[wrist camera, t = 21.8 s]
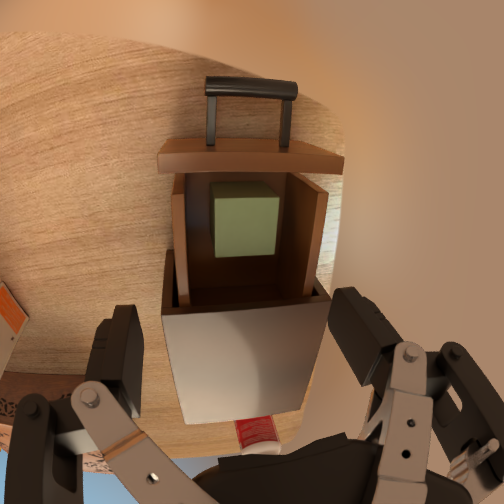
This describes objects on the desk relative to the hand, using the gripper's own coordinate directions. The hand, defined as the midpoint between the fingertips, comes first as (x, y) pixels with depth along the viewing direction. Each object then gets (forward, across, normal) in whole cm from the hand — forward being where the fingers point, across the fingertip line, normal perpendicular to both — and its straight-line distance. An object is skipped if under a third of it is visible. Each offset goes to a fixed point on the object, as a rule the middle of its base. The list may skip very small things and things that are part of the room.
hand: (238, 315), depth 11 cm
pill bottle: (+16, -5, +36) cm, 40 cm away
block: (+14, -2, +1) cm, 15 cm away
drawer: (+16, -2, 0) cm, 16 cm away
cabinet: (+16, -2, +14) cm, 21 cm away
